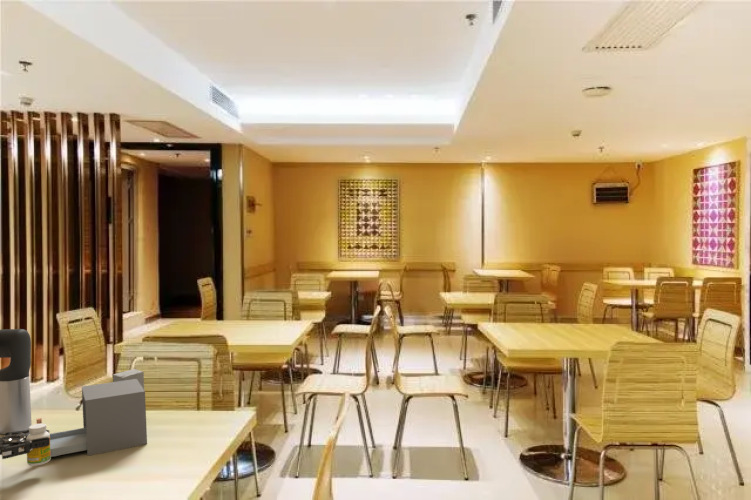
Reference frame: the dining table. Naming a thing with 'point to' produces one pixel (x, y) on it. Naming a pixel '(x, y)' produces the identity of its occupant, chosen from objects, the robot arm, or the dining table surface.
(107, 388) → the cabinet
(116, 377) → the skincare box
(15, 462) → the dining table surface
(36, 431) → the supplement bottle
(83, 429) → the drawer
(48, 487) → the dining table surface
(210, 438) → the dining table surface
